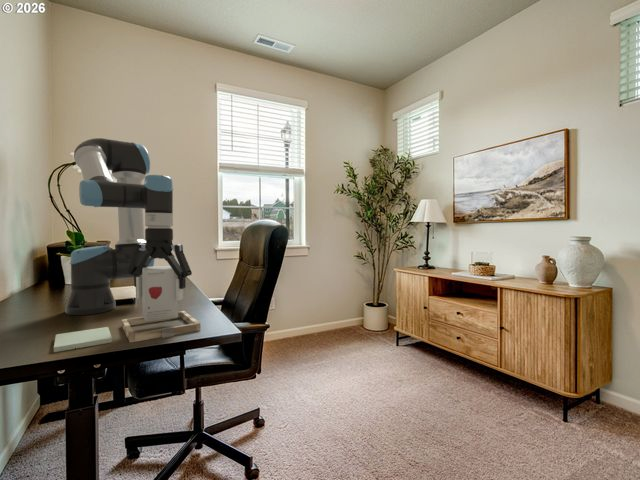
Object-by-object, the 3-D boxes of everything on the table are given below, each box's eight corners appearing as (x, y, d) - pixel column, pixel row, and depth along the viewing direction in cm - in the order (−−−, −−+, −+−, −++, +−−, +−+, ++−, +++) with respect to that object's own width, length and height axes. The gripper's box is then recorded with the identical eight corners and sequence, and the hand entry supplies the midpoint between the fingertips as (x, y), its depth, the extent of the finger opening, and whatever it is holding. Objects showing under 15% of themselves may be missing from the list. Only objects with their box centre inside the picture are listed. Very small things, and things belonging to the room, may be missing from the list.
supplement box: (144, 322, 94) (144, 270, 93) (141, 315, 101) (141, 266, 101) (178, 317, 99) (178, 268, 98) (173, 311, 106) (173, 264, 106)
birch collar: (121, 325, 103) (121, 317, 102) (183, 315, 113) (183, 309, 113) (130, 343, 86) (130, 334, 86) (201, 330, 97) (201, 322, 97)
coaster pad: (56, 338, 90) (55, 334, 90) (108, 330, 97) (108, 326, 97) (53, 352, 80) (53, 347, 80) (111, 342, 87) (111, 337, 87)
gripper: (113, 227, 97) (114, 299, 98) (190, 228, 93) (190, 303, 94) (131, 226, 104) (132, 294, 105) (203, 228, 101) (203, 297, 102)
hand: (159, 298), depth 100 cm, fingers closed on supplement box, 12 cm apart
